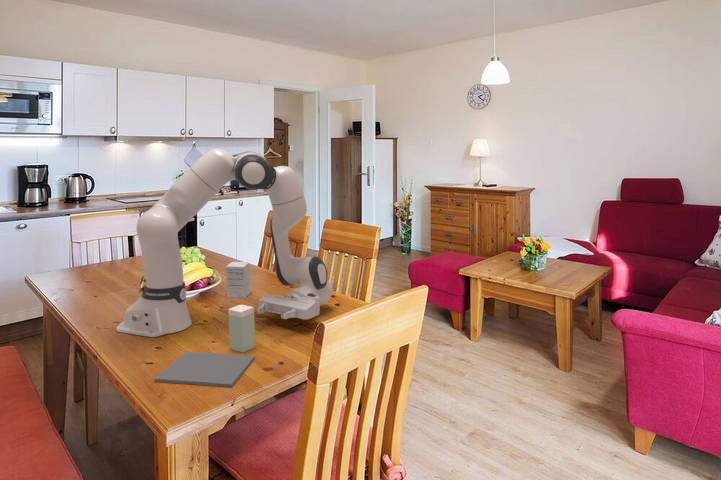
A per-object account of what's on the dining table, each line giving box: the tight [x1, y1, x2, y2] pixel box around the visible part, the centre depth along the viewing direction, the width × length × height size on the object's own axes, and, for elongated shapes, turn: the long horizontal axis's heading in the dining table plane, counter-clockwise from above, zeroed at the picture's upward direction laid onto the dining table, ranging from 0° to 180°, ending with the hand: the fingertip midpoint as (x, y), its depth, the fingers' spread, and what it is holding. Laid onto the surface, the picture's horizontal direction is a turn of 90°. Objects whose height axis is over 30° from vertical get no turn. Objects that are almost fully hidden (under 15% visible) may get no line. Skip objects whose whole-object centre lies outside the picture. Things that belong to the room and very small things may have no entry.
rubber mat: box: [154, 351, 256, 388], centre depth 123 cm, size 20×16×1 cm
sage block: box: [227, 304, 256, 353], centre depth 135 cm, size 5×5×12 cm
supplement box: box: [225, 261, 252, 299], centre depth 184 cm, size 7×7×13 cm
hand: (270, 313), depth 146 cm, fingers open, 8 cm apart
